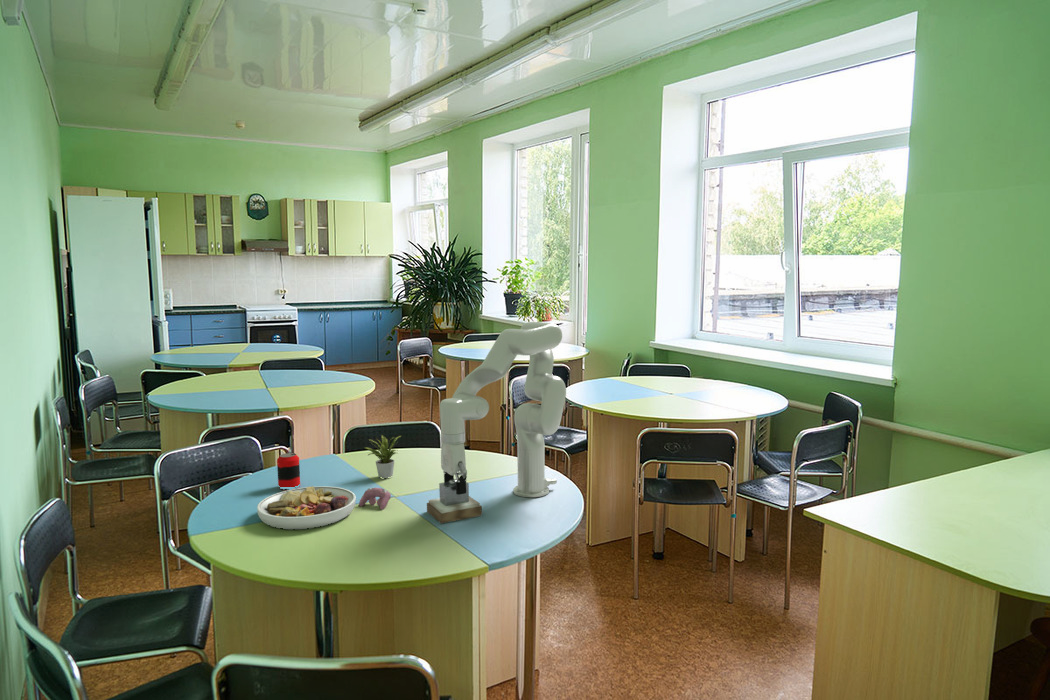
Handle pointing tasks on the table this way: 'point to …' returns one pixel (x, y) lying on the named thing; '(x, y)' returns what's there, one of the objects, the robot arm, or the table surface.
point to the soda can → (288, 470)
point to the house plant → (384, 457)
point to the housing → (452, 493)
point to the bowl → (306, 507)
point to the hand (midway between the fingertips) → (455, 489)
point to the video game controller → (373, 493)
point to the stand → (454, 510)
